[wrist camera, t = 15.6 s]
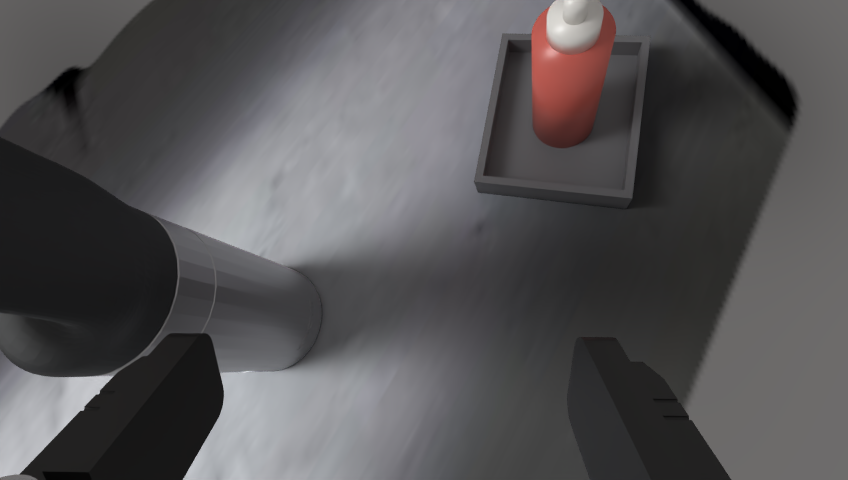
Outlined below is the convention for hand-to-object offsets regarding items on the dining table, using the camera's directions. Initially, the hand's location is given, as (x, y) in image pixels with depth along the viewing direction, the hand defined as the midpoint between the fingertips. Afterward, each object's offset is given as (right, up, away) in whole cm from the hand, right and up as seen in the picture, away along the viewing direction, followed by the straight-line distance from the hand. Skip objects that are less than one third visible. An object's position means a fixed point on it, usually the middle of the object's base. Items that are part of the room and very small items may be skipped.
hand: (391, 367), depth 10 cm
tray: (+13, +13, +30) cm, 35 cm away
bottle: (+12, +13, +29) cm, 34 cm away
